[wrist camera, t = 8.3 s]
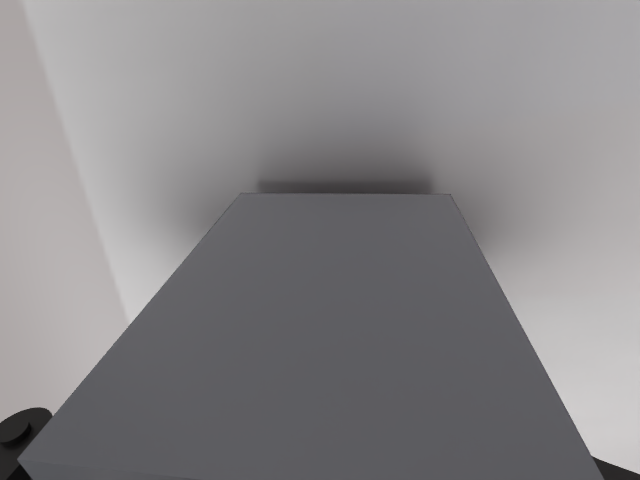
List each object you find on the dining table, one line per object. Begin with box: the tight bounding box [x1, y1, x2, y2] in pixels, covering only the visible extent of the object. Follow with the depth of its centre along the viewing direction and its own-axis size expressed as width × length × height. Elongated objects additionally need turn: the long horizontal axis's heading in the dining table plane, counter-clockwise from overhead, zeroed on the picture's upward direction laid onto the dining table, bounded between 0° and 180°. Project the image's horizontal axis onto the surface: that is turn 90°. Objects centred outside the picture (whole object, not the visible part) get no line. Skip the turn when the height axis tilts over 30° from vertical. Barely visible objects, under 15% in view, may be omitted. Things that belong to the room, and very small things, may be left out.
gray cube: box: [17, 193, 604, 480], centre depth 9 cm, size 7×7×9 cm
